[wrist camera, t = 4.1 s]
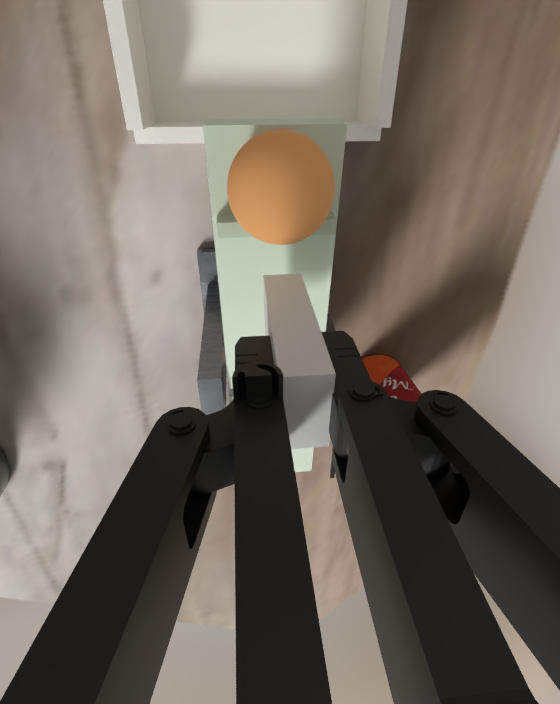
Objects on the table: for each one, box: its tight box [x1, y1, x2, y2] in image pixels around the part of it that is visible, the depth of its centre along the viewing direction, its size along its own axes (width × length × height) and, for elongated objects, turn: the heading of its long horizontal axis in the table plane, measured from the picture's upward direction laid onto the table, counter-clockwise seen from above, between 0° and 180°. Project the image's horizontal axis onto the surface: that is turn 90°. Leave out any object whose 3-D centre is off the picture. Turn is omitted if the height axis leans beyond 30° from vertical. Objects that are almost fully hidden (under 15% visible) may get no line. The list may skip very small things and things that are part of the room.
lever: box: [203, 118, 347, 472], centre depth 23 cm, size 5×21×8 cm, turn 0°
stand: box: [197, 248, 336, 415], centre depth 27 cm, size 9×8×12 cm
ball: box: [227, 129, 335, 245], centre depth 14 cm, size 4×4×4 cm
